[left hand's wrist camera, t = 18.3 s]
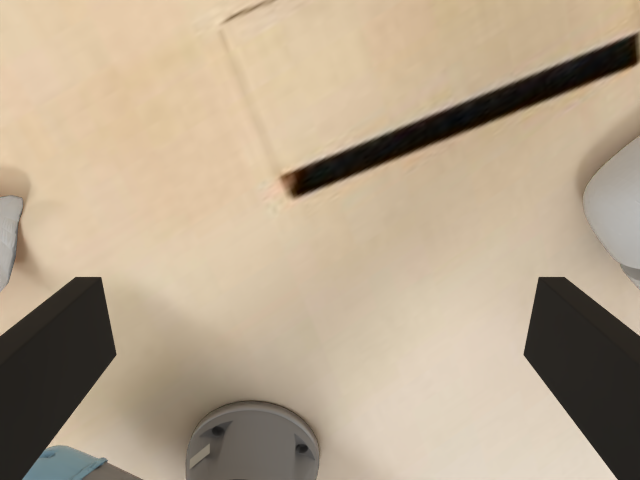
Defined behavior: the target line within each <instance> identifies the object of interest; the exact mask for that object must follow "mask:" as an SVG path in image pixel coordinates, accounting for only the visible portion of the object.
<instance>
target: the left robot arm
mask: <svg viewBox="0 0 640 480" xmlns="http://www.w3.org/2000/svg"><path fill="white" fill-rule="evenodd" d="M115 356H116V350H115V345H114V340H113V335H112V330H111V325H110V319H109V314H108V309H107V304H106V299H105V294H104V289H103V284H102V279H101V277H75V278H74V279H73V280H71V281H70V282H69V283H67V284H66V285H65V286H64V287H62V288H61V289H60V290H59V291H57V292H56V293H55V294H53V295H52V296H51V297H50V298H48V299H47V300H46V301H45V302H43V303H42V304H41V305H39V306H38V307H37V308H36V309H34V310H33V311H32V312H31V313H29V314H28V315H27V316H25V317H24V318H23V319H22V320H20V321H19V322H18V323H17V324H15V325H14V326H13V327H11V328H10V329H9V330H8V331H6V332H5V333H4V334H3V335H1V336H0V480H143V479H141V478H139V477H136V476H134V475H132V474H130V473H128V472H126V471H124V470H122V469H120V468H118V467H115V466H113V465H111V464H109V463H107V461H108V460H107V459H106V458H100V459H98V458H96V457H93V456H91V455H88V454H86V453H83V452H81V451H78V450H76V449H74V448H71V447H68V446H62V445H58V446H52V447H49V448H47V449H46V447H47V446H48V445H49V443H50V442H51V441H52V440H53V438H54V437H55V436H56V434H57V433H58V432H59V430H60V429H61V428H62V426H63V425H64V424H65V422H66V421H67V420H68V418H69V417H70V416H71V414H72V413H73V412H74V410H75V409H76V408H77V406H78V405H79V404H80V402H81V401H82V400H83V398H84V397H85V396H86V394H87V393H88V392H89V390H90V389H91V388H92V387H93V385H94V384H95V383H96V381H97V380H98V379H99V377H100V376H101V375H102V373H103V372H104V371H105V369H106V368H107V367H108V365H109V364H110V363H111V361H112V360H113V359H114V357H115ZM524 356H525V357H526V359H527V360H528V361H529V363H530V364H531V365H532V367H533V368H534V369H535V371H536V372H537V373H538V375H539V376H540V377H541V379H542V380H543V381H544V383H545V384H546V385H547V387H548V388H549V389H550V391H551V392H552V393H553V394H554V396H555V397H556V398H557V400H558V401H559V402H560V404H561V405H562V406H563V408H564V409H565V410H566V412H567V413H568V414H569V416H570V417H571V418H572V420H573V421H574V422H575V424H576V425H577V426H578V428H579V429H580V430H581V432H582V433H583V434H584V436H585V437H586V438H587V440H588V441H589V442H590V443H591V445H592V446H593V447H594V449H595V450H596V451H597V453H598V454H599V455H600V457H601V458H602V459H603V461H604V462H605V463H606V465H607V466H608V467H609V469H610V470H611V471H612V473H613V474H614V475H615V477H616V478H617V479H618V480H640V336H639V335H637V334H636V333H635V332H634V331H632V330H631V329H630V328H629V327H627V326H626V325H625V324H623V323H622V322H621V321H620V320H618V319H617V318H616V317H615V316H613V315H612V314H611V313H609V312H608V311H607V310H606V309H604V308H603V307H602V306H601V305H599V304H598V303H597V302H595V301H594V300H593V299H592V298H590V297H589V296H588V295H587V294H585V293H584V292H583V291H581V290H580V289H579V288H578V287H576V286H575V285H574V284H573V283H571V282H570V281H569V280H567V279H566V278H565V277H539V279H538V284H537V289H536V294H535V299H534V304H533V309H532V314H531V319H530V324H529V330H528V335H527V340H526V345H525V350H524ZM318 468H319V447H318V442H317V439H316V437H315V435H314V433H313V431H312V430H311V428H310V427H309V426H308V425H307V423H306V422H305V421H304V420H302V419H301V418H300V417H299V416H297V415H296V414H294V413H293V412H291V411H289V410H287V409H285V408H283V407H280V406H278V405H274V404H271V403H266V402H258V401H244V402H237V403H232V404H228V405H225V406H222V407H220V408H218V409H216V410H214V411H212V412H211V413H209V414H208V415H207V416H206V417H204V418H203V419H202V420H201V421H200V423H199V424H198V425H197V427H196V428H195V430H194V432H193V435H192V437H191V440H190V443H189V446H188V449H187V456H186V480H316V478H317V473H318Z"/></svg>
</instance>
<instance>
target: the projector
mask: <svg viewBox="0 0 640 480" xmlns="http://www.w3.org/2000/svg"><path fill="white" fill-rule="evenodd" d="M583 207H584V213H585V216H586V218H587V221H588V223H589V224H590V226H591V228H592V230H593V231H594V233H595V235H596V236H597V238H598V239H599V241H600V242H601V243H602V245H603V246H604V247H605V249H606V250H607V251H608V253H609V254H610V255H611V256H612V257H613V258H614V259H615V260H616V261H617V262H619V263H620V265H621V268H622V270H623V271H624V273H625V274H626V275H627V276H628V277H629V279H630V280H631V281H632V282H633V283H634V284H635V285H636V286H637V287H638V288H639V289H640V135H639V136H638V137H637V138H635V139H634V140H633V141H632V142H630V143H629V144H628V145H626V146H625V147H624V148H623V149H621V150H620V151H619V152H618V153H617V154H615V155H614V156H613V157H612V158H611V159H610V160H609V161H608V162H606V163H605V164H604V165H603V166H602V167H601V168H600V169H599V170H598V171H597V172H596V174H595V175H594V176H593V177H592V178H591V180H590V181H589V183H588V184H587V186H586V188H585V191H584V195H583Z"/></svg>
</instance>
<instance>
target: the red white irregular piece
mask: <svg viewBox="0 0 640 480" xmlns="http://www.w3.org/2000/svg"><path fill="white" fill-rule="evenodd" d="M22 209H23V199H22V197H17V196H13V195H10V196H3V197H0V292H1V291H2V290H3V289H4V287H5V286H6V285H7V284H8V282H9V279H10V275H11V271H12V268H13V264H14V261H15V257H16V246H17V234H18V222H19V219H20V216H21V213H22Z"/></svg>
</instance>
